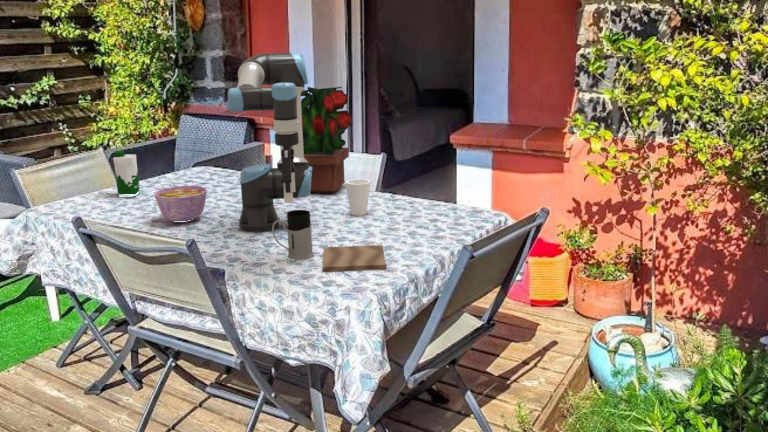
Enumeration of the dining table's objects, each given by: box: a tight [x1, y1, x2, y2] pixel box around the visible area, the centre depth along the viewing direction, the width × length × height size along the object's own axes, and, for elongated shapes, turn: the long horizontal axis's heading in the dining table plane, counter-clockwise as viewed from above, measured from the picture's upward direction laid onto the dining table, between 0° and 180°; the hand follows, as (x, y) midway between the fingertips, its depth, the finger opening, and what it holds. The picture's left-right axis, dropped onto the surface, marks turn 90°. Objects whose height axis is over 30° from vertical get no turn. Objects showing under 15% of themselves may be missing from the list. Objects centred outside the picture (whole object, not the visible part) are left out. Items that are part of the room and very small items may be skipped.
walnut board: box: [322, 244, 387, 273], centre depth 256 cm, size 20×20×2 cm
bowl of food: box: [153, 185, 208, 222], centre depth 305 cm, size 20×20×12 cm
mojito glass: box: [112, 150, 140, 195], centre depth 343 cm, size 9×9×20 cm
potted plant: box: [301, 86, 352, 195], centre depth 341 cm, size 22×22×45 cm
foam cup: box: [345, 178, 371, 217], centre depth 308 cm, size 10×9×13 cm
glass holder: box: [271, 209, 315, 261], centre depth 258 cm, size 9×14×15 cm, turn 125°
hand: (290, 196), depth 254 cm, fingers open, 13 cm apart
